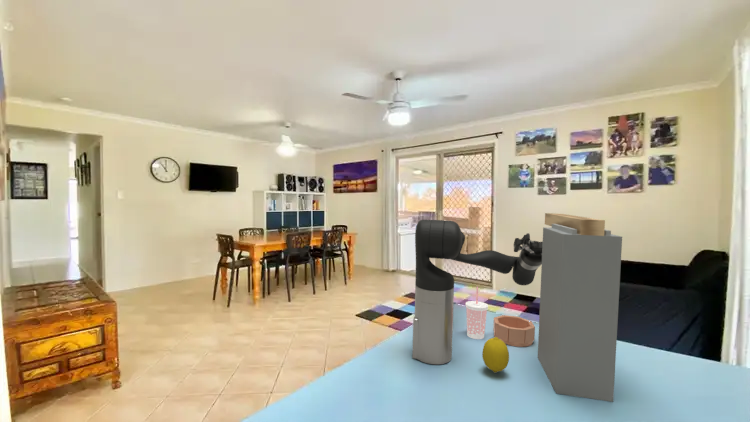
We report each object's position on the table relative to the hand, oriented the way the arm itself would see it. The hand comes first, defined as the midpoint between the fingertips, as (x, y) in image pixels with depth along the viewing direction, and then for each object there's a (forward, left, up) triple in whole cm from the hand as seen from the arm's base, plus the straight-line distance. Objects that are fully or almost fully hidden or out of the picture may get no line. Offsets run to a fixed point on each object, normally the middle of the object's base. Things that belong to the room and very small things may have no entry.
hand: (544, 236), depth 96 cm
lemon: (-16, -29, -28) cm, 43 cm away
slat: (0, -21, +4) cm, 21 cm away
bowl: (-9, -9, -28) cm, 30 cm away
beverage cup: (-19, -10, -28) cm, 35 cm away
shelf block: (0, -26, -28) cm, 38 cm away
